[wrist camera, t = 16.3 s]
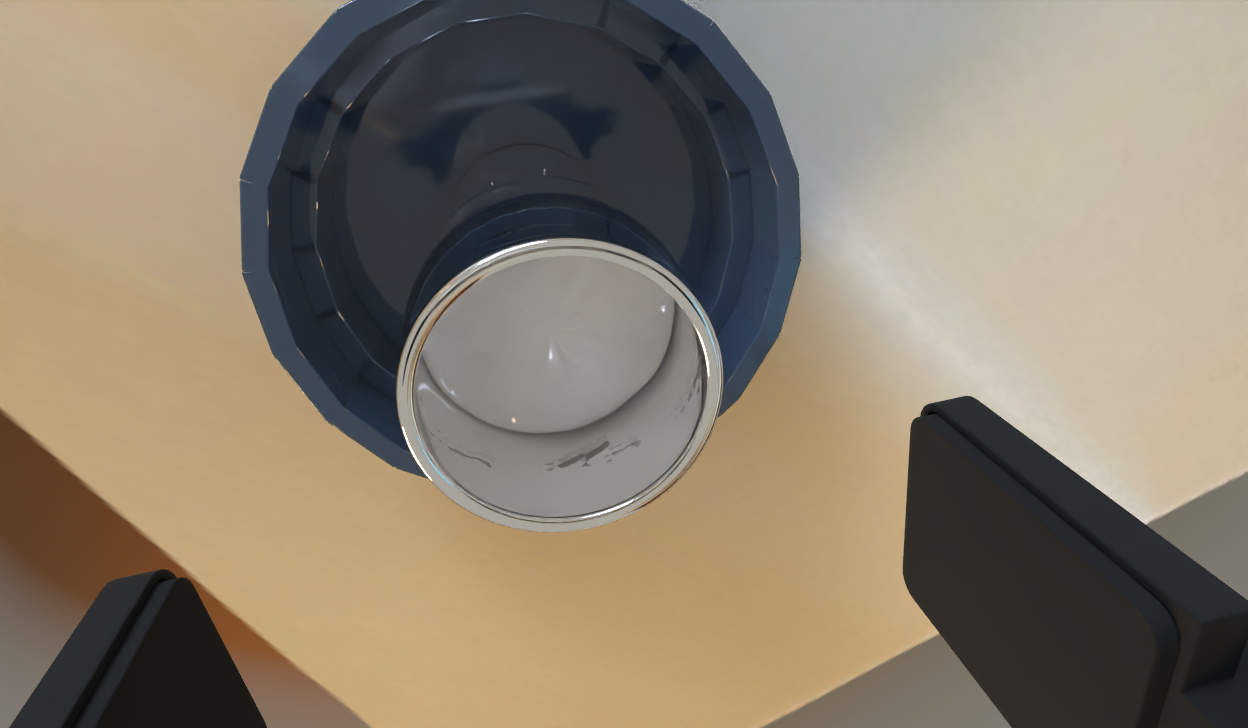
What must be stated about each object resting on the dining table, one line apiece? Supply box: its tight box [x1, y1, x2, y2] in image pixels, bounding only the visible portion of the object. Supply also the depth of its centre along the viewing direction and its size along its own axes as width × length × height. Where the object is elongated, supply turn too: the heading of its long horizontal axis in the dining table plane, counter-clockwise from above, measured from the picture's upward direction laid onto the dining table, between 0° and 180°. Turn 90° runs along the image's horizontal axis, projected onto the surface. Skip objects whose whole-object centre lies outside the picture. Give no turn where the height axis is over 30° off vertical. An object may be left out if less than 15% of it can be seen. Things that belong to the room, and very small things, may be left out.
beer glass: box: [396, 144, 723, 532], centre depth 21 cm, size 7×7×15 cm
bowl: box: [240, 0, 801, 479], centre depth 26 cm, size 18×18×6 cm
